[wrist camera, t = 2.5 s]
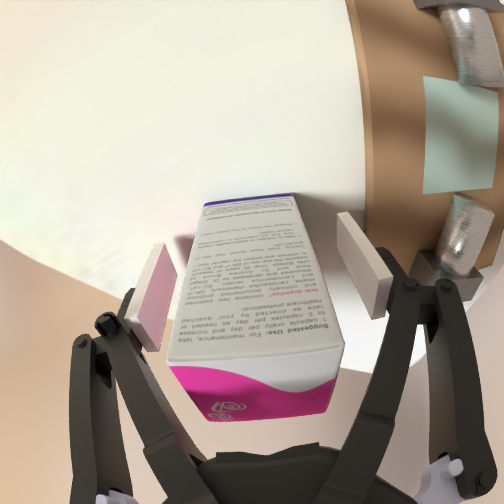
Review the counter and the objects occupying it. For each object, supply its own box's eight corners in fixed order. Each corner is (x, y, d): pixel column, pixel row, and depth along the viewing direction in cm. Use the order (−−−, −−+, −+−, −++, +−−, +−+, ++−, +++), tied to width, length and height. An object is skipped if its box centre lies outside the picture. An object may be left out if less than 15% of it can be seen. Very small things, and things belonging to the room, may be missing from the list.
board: (330, -49, 7) (337, -57, 6) (496, 6, 6) (507, 6, 5) (359, 291, 22) (364, 302, 21) (485, 258, 21) (492, 266, 20)
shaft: (437, 188, 15) (470, 213, 12) (479, 197, 16) (508, 220, 13) (403, 284, 20) (423, 317, 17) (445, 282, 21) (465, 310, 17)
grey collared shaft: (394, -36, 7) (427, -52, 4) (449, -27, 6) (482, -34, 3) (440, 82, 11) (480, 89, 8) (485, 78, 10) (522, 87, 7)
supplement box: (200, 202, 17) (160, 361, 7) (294, 191, 17) (359, 341, 7) (216, 274, 20) (206, 426, 11) (296, 265, 20) (334, 413, 11)
